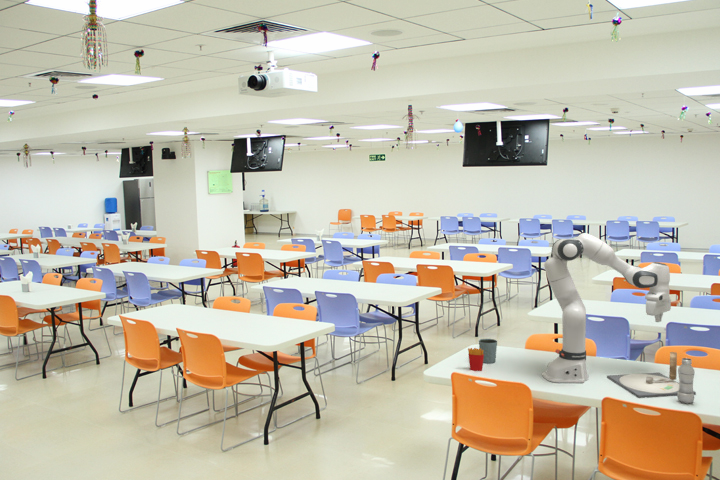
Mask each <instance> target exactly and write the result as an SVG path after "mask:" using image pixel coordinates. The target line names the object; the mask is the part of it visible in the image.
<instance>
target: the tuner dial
mask: <svg viewBox="0 0 720 480" xmlns="http://www.w3.org/2000/svg"><path fill="white" fill-rule="evenodd" d="M646 377H652V378H653V379H667V378H669V376H666V375H665V374H663V373H661V372H645V373H626V374H611V375H606V378H607V379H608V380H610V381H612V382H613V383H614V384H616V385H618V386H619V387H621V388H623V389H624V390H625V391H627V393H630V394H631V395H633V396H635V397H636V398H638V399H643V398H644V399H645V397H647V398H662V397H677V394H678V390H679V381H676V380H674V381H657V382H653V383H647V382H646ZM693 393H694V396H695V395H696V394H697V393H696V391H695V390H693Z"/></svg>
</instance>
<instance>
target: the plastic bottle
mask: <svg viewBox="0 0 720 480" xmlns="http://www.w3.org/2000/svg"><path fill="white" fill-rule="evenodd" d="M692 360H693V359H691V358H688V357H682V358H681V365H680V366H679V367H677V375H678V383H679V390H678V394H677V396H676V397H677V401H679V402H680V403H684V404H692V403H694V401H695V395H694V393H693V391H694V379H695V368H694V367H693V366H692Z"/></svg>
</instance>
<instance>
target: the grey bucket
mask: <svg viewBox="0 0 720 480" xmlns="http://www.w3.org/2000/svg"><path fill="white" fill-rule="evenodd" d="M497 346H498V340H496V339H494V338H481V339H479V340H478V349H479V348H480V349H481V351H482V350H483V354H484V358H483V364H487V365H488V364H489V365H491V364H496V361H497V359H496V358H497Z"/></svg>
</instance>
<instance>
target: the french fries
mask: <svg viewBox="0 0 720 480" xmlns="http://www.w3.org/2000/svg"><path fill="white" fill-rule="evenodd" d="M467 350H468V361H469V370H470V371H474V372H482V371H483V367H484V363H483V358H484V354H483V350H482V351H481V349H480V348H479V347H478V348H476V347H474V348H472V347H471V348H469V347H468V348H467Z"/></svg>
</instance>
